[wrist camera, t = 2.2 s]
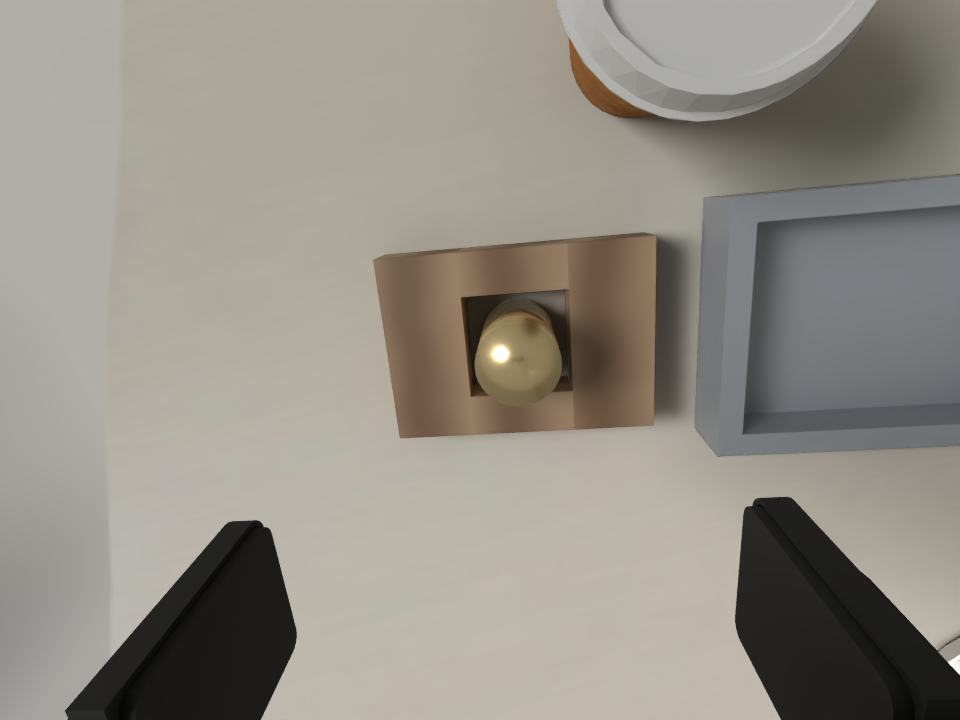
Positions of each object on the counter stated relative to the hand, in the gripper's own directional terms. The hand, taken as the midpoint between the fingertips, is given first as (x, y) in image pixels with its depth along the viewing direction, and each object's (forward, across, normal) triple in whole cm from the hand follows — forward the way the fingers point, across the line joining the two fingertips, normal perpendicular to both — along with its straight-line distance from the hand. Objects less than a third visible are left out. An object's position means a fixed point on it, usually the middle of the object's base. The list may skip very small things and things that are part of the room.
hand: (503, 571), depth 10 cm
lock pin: (+20, 0, 0) cm, 20 cm away
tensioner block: (+20, -1, 0) cm, 20 cm away
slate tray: (+20, -18, 0) cm, 27 cm away
